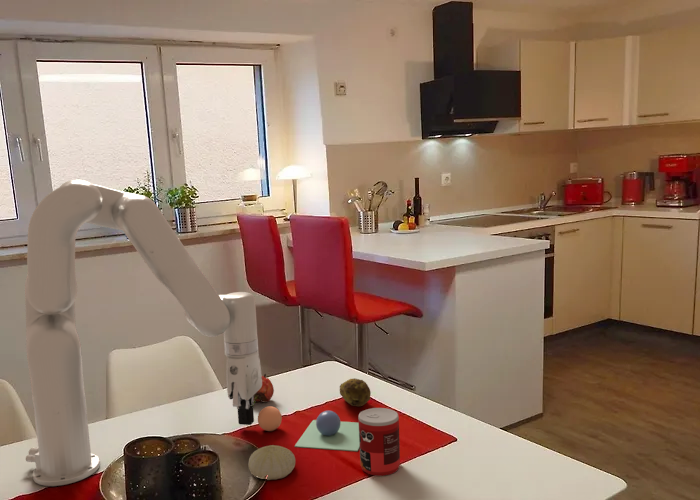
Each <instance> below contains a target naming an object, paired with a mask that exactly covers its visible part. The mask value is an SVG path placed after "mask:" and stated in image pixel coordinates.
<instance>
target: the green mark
mask: <svg viewBox="0 0 700 500" xmlns="http://www.w3.org/2000/svg"><path fill="white" fill-rule="evenodd" d="M316 420H317V419H313V420H312V421H311V422H310V423H309V425H308V426H307V428H306V429H305V431H304V432H303V434H302V435H301V436H300V438H299V439H298V440H297V442H296V443H295V445H294V448H305V449H306V448H308V449H320V450H334V451H347V452H358V451H359V450H360V444H359V422H356V421H355V422H354V421H352V422H351V421H341V420H340V422H341V424H340V428H339V430H338V432H337V433H335V434H334V435H331V436H325V435H322V434H321V433H320V432H319V431H318V429H317V427H316Z"/></svg>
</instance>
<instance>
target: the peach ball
mask: <svg viewBox="0 0 700 500" xmlns="http://www.w3.org/2000/svg"><path fill="white" fill-rule="evenodd" d="M282 420H283V418H282V414H281V411H280V410H279V409H278V408H277V407H275V406H272V405H270V406H265V407H264V408H261V410H260V411H259V413H258V415H257V423H258V426H259V427H260V428H261V429H262V430H264V431H267V432H273V431H275V430H277V429H278V428H279V427H280V425H281V424H282Z"/></svg>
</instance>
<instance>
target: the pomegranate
mask: <svg viewBox="0 0 700 500" xmlns="http://www.w3.org/2000/svg"><path fill="white" fill-rule="evenodd" d="M266 375H267V374H266V373H264V374H263V375H262V387H261V388H260V389H259V390H258V391H257V392H256V393H255V394H254V403H253V405H251V406H253V407H254V406H255V404H256V402H258V403H259V402H262V403H268V402H269V401H271V399H272V398H273V396H274V392H275V390H274V385H273V382H272V381H271V380H270V379H269V378H267V377H266Z"/></svg>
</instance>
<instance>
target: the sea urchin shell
mask: <svg viewBox="0 0 700 500" xmlns="http://www.w3.org/2000/svg"><path fill="white" fill-rule="evenodd" d="M247 466H248V470H249V472H250V473H251V475H252V474H253V475H255V476H258V477H262V476H266V475H268V477H267V480H266V481H271V480H279V479H283V478H285V477H287V476H288V475H289V474H291V473H292V471H293V470H294V468H295V466H296V457H295V454H294V453H293V452H292V450H290V449H288V448H286V447H284V446H281V445H276V444H275V445H274V444H272V445H271V444H270V445H266V446H262V447H259V448H258V449H256V450H254V451H253V452H252V453H251V454H250V456H249V458H248V465H247ZM253 475H252V476H253ZM255 476H254V477H255Z"/></svg>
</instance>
